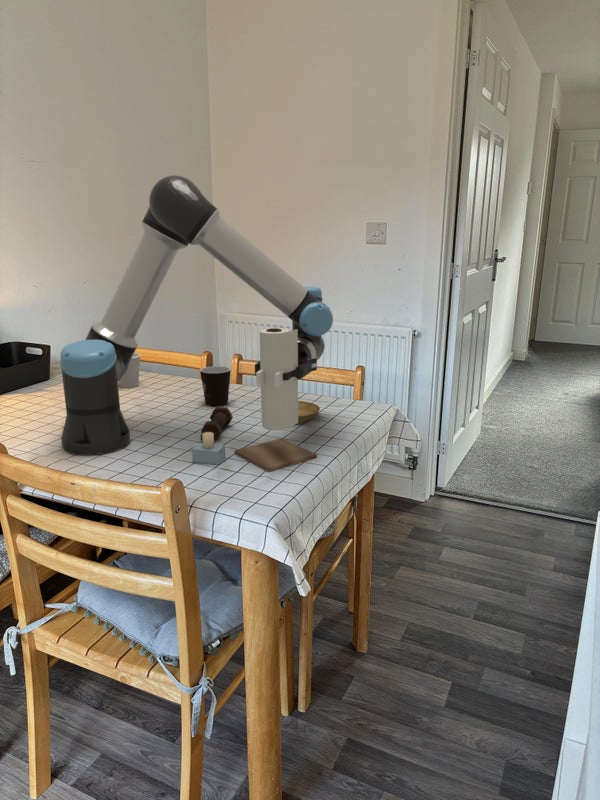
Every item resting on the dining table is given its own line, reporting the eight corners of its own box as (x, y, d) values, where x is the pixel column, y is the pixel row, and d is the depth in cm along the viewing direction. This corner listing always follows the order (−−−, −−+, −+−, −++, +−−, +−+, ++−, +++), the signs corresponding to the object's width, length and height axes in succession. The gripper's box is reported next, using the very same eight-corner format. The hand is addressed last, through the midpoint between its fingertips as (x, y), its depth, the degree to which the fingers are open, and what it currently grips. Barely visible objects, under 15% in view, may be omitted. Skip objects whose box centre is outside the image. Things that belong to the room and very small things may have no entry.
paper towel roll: (257, 429, 126) (255, 331, 120) (267, 421, 132) (265, 326, 125) (289, 433, 124) (288, 333, 118) (298, 424, 129) (297, 328, 123)
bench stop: (200, 455, 130) (198, 429, 128) (225, 458, 128) (224, 432, 127) (192, 462, 126) (191, 435, 124) (218, 464, 124) (217, 438, 123)
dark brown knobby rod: (204, 452, 137) (220, 429, 151) (222, 443, 135) (236, 421, 150) (190, 432, 135) (208, 411, 150) (208, 422, 134) (224, 402, 148)
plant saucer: (256, 413, 160) (256, 404, 160) (303, 406, 167) (303, 397, 166) (279, 429, 148) (279, 419, 147) (329, 421, 154) (330, 411, 154)
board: (268, 472, 121) (268, 468, 121) (234, 453, 131) (234, 450, 131) (316, 457, 129) (316, 454, 128) (281, 441, 138) (281, 438, 138)
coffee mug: (229, 408, 164) (228, 373, 162) (199, 407, 165) (197, 373, 162) (234, 396, 176) (233, 364, 173) (206, 396, 176) (204, 363, 173)
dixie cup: (110, 386, 186) (107, 355, 184) (131, 381, 193) (129, 351, 190) (127, 390, 182) (124, 359, 179) (148, 385, 188) (146, 354, 185)
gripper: (329, 373, 140) (305, 400, 118) (265, 370, 144) (230, 395, 122) (330, 343, 138) (305, 364, 116) (264, 339, 142) (229, 359, 120)
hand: (267, 379), depth 119 cm, fingers closed on paper towel roll, 3 cm apart
